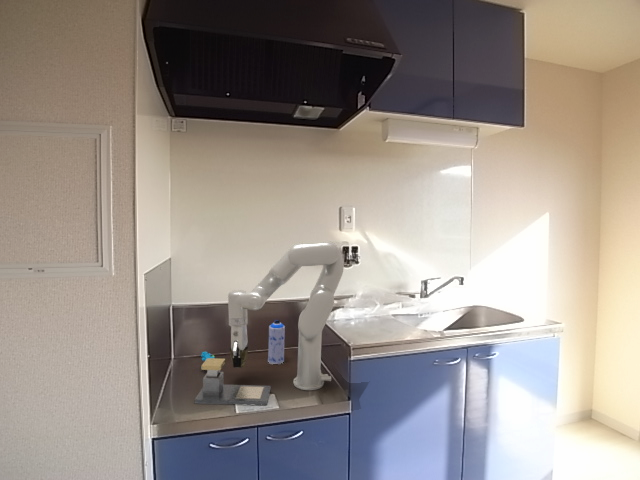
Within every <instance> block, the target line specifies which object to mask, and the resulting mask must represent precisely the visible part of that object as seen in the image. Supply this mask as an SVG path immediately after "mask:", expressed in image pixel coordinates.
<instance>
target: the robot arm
mask: <svg viewBox="0 0 640 480" xmlns="http://www.w3.org/2000/svg"><path fill="white" fill-rule="evenodd" d="M344 265H345V263H344V256H343V254H342V252H341V250H340V248H339V247H338V246H337V244H335V243H334V242H332V241H329V240H326V241H323V242H321V243H309V244H307V243H306V244H304V243H300V242H298V243H295V244H294V245H292V246H291V247H290V248H289V249H288V250H287V251H286V252H285V253H284V254H283V255H282V256H281V258H280V259H279V260H277V262H276V263H275V264H274V265H273V266H272V267H271V269H270V270H269V271H268V272H267V274H266V275H265V276H264V277H263V278H262V280H261V281H260V282H259V283H258V284H257V285H256V286H254V288H252V289H251V291H249V292H247V291H246V290H244V289H243V290H242V289H236V290H235V289H234V290H231V291H230V292H229V293H228V294H227V296H228V297H227V298H228V301H227V302H228V303H227V304H228V308H227V309H228V326H230V328H231V329H230V348H231V349H232V351H233V362H232V366H233V368H236V367H241V357H240V355H241V350H242V351H243V350H244V349H245V347H246V346H248V327H247V326H248V321H249V320H248V318H249V317H248V310H250V311H258V310H261V309H262V308H263V306H264V305H265V303H266V302H267V300H269V299H270V297H271V296H272V295H273V294H274V293H275V292H276V291H277V290H278V289H279V288H280V287H282V286H283V285H285V284H287V282H288V281H290V280H291V278H293V276H294V275H295V274H296V273H297V272H298V271H299V270H300V269H301V268H302V267H315V266H322V269H321V272H320V273H319V276H318V279H317V280H316V283H315V285H314V287H313V288H312V290H311V292H310V293H309V294H310V296H309V300H308V302H307V304H306V306H305V308H304V309H303V310H302V311H301V312H300V315H299V317H298V323H297V326H298V328H297V329H298V345H297V346H298V347H297V371H296V373H297V375H296V377H294V378H293V386H294V387H296V388H297V389H299V390H302V391H315V390H319V389H321V388H322V387H323V386H324V384H325V382H331V381H332V375H329V374H328V373H327V374H326V373H325V374H323V373H322V370H321V365H322V359H321V358H322V339H323V337H322V336H323V335H322V334H323V330H324V327H325V325H326V324H327V321H328V320H329V317H330V316H331V315H330V314H331V312H332V310H333V308H334V306H335V305H334V304H335V293H336V292H337V291H336V290H337V289H338V286H339V283H340V281H341V279H342V277H343V274H344V269H345V266H344ZM237 348H239V350H237ZM237 351H239V354H238V353H237ZM241 368H242V367H241Z"/></svg>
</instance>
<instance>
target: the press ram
mask: <svg viewBox="0 0 640 480" xmlns="http://www.w3.org/2000/svg"><path fill="white" fill-rule="evenodd" d="M225 364H226V358H215V357H214V358H207V359H206V360H205V361H203V363H202V364H201V367H200V370H203V371H204V370H205V371H206V373H207V377H208V378H218V377H219V375H220V372H221V370H222V369H223V367H224V365H225Z"/></svg>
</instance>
